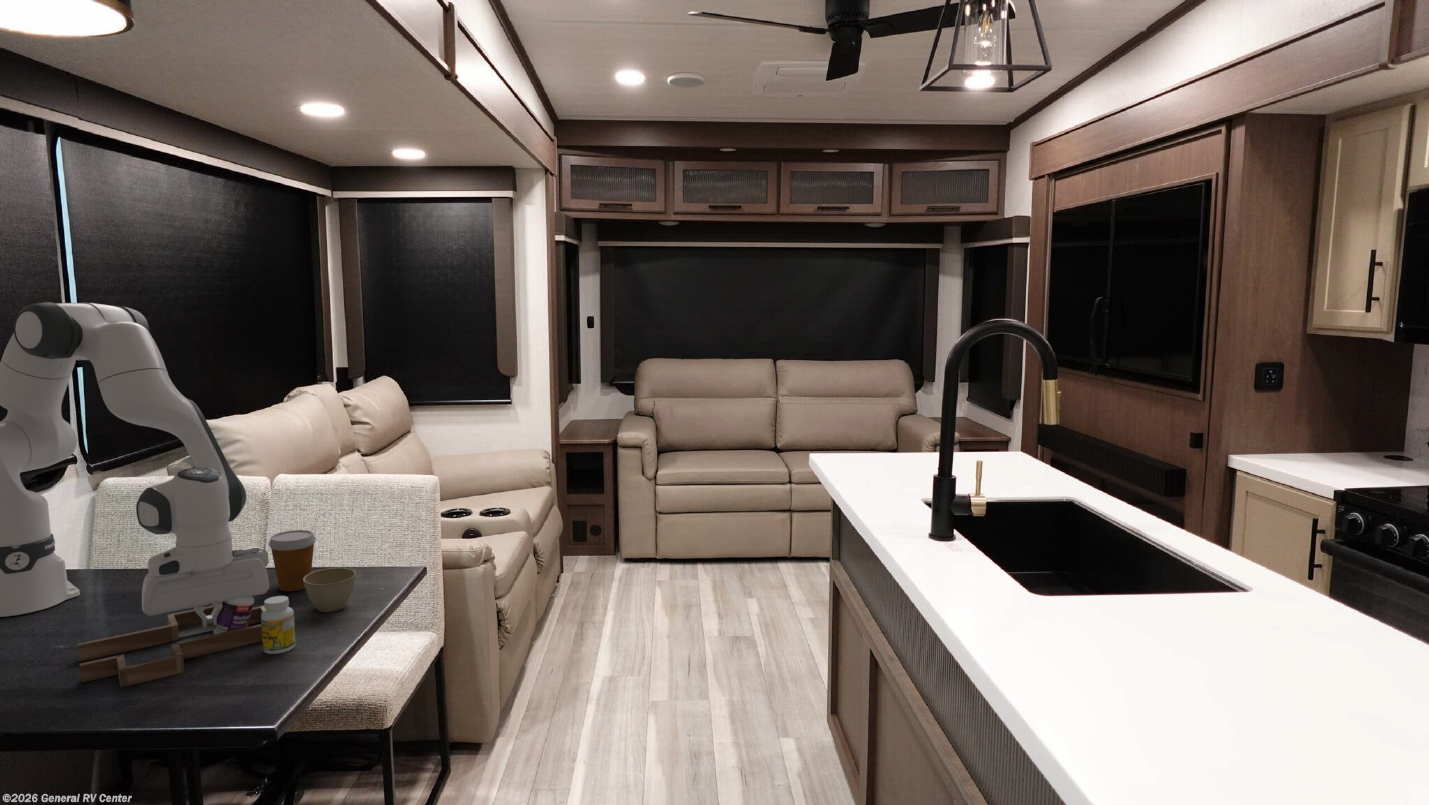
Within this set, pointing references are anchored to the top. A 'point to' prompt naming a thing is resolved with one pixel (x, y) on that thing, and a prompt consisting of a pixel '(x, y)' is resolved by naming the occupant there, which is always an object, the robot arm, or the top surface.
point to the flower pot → (330, 588)
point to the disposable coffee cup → (292, 557)
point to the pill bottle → (234, 614)
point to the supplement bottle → (277, 625)
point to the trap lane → (176, 629)
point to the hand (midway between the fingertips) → (209, 625)
